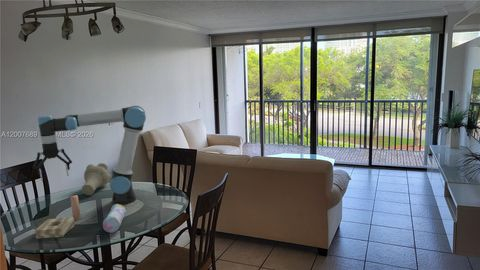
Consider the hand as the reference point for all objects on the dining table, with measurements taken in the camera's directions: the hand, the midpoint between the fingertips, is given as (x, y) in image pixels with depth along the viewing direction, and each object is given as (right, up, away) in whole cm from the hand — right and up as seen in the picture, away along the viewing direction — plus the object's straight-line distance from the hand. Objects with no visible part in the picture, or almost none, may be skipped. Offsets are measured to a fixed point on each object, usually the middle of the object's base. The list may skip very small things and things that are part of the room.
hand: (55, 177), depth 202 cm
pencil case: (+40, -25, -12) cm, 49 cm away
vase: (+2, -16, +49) cm, 51 cm away
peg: (+13, -24, -1) cm, 28 cm away
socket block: (+9, -27, -16) cm, 33 cm away
